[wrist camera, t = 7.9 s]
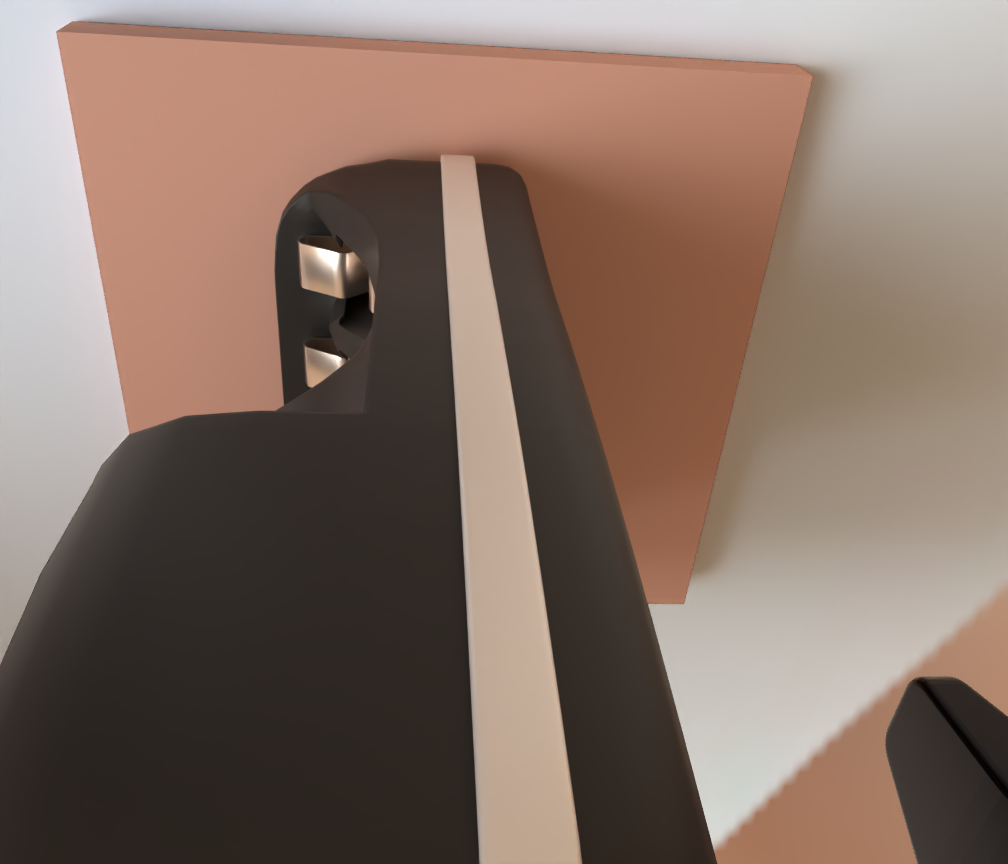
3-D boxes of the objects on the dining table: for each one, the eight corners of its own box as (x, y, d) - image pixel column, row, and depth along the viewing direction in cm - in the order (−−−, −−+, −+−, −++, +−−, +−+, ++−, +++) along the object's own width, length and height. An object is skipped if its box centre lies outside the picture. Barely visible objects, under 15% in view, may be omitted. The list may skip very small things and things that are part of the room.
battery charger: (216, 121, 11) (-796, 1701, 2) (527, 136, 12) (966, 1520, 2) (260, 555, 15) (-4, 1790, 6) (492, 556, 16) (600, 1713, 6)
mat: (168, 579, 16) (160, 604, 16) (73, 21, 11) (56, 32, 11) (676, 580, 17) (684, 604, 17) (796, 64, 12) (812, 76, 12)
